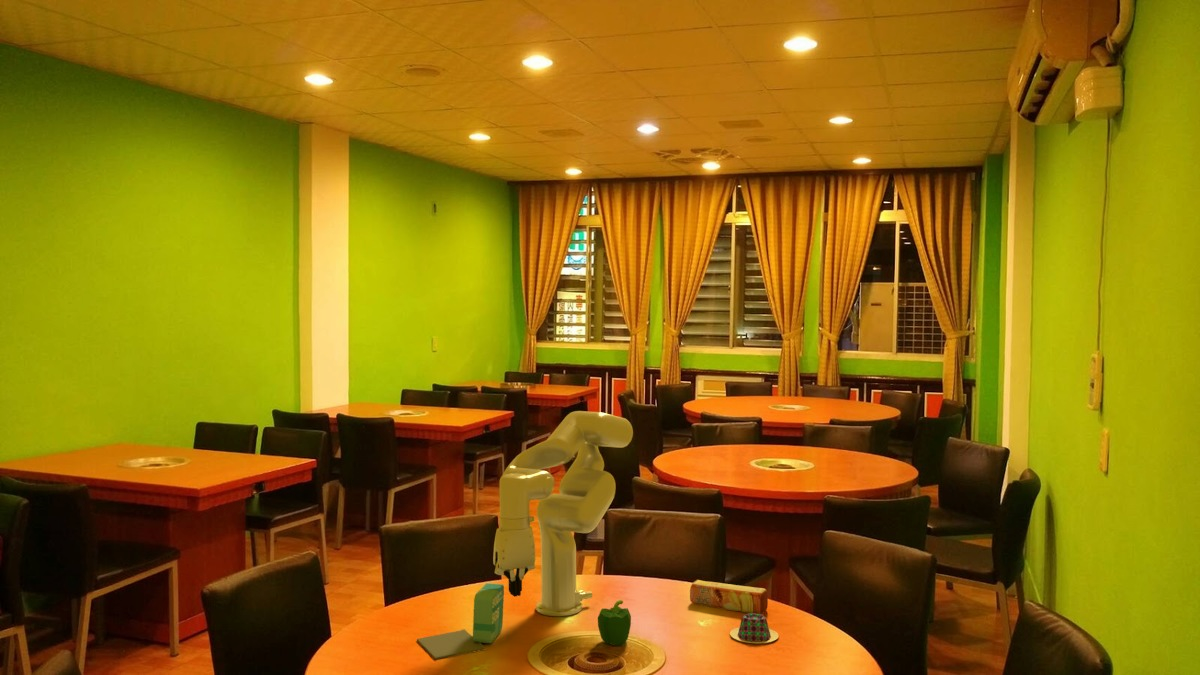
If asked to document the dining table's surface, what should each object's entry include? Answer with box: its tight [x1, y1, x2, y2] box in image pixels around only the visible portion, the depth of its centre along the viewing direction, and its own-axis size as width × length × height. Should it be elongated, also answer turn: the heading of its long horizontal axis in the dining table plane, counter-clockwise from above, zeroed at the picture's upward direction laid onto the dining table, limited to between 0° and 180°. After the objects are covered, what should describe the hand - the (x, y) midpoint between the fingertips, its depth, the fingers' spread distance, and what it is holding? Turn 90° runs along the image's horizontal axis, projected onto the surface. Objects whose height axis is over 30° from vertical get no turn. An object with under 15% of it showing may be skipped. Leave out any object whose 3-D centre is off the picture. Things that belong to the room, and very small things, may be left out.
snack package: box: [689, 579, 769, 615], centre depth 245 cm, size 21×7×7 cm, turn 59°
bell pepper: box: [597, 599, 632, 647], centre depth 220 cm, size 8×8×10 cm
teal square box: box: [472, 582, 505, 644], centre depth 224 cm, size 12×4×12 cm, turn 172°
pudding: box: [729, 613, 780, 644], centre depth 223 cm, size 12×12×5 cm
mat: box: [416, 629, 486, 661], centre depth 219 cm, size 12×14×1 cm
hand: (515, 594), depth 227 cm, fingers closed
